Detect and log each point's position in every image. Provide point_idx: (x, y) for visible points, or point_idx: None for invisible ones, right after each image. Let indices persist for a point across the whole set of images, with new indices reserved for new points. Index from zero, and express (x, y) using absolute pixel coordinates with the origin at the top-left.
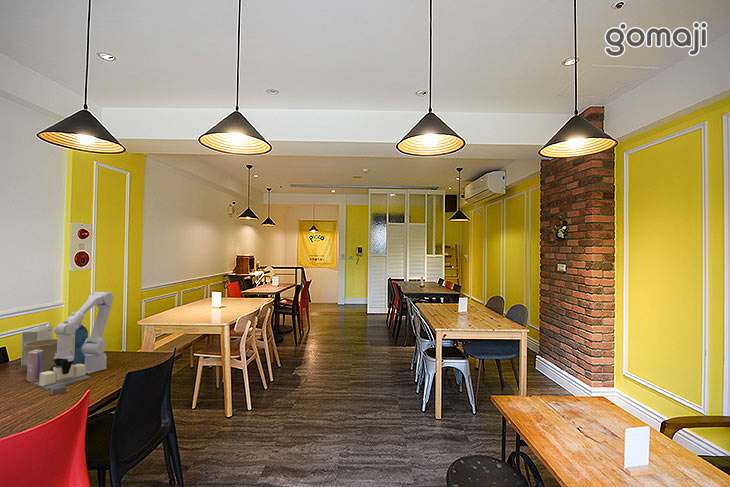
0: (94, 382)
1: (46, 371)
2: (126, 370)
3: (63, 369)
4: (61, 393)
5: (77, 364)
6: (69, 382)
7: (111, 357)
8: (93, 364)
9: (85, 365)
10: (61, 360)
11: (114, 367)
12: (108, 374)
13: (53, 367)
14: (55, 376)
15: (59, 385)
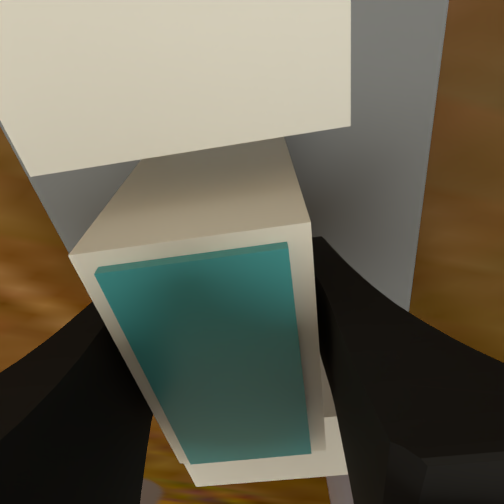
0: (2, 362)
1: (345, 35)
2: (174, 497)
3: (72, 322)
4: None
5: (328, 456)
6: (62, 240)
7: None
8: (332, 485)
9: (196, 483)
10: (370, 501)
11: (306, 483)
12: (164, 442)
13: (295, 225)
14: (184, 160)
15: (6, 135)
